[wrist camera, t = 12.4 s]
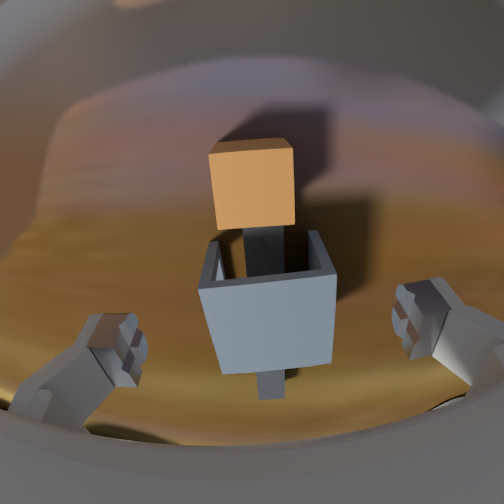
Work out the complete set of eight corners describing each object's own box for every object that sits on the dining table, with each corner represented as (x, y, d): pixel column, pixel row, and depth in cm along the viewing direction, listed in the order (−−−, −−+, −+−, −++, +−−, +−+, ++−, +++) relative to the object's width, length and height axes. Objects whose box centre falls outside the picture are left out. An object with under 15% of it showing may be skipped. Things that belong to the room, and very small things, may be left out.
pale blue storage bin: (317, 311, 29) (331, 362, 23) (226, 321, 30) (222, 374, 24) (316, 229, 25) (337, 274, 19) (209, 241, 26) (197, 289, 20)
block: (286, 199, 24) (294, 224, 20) (223, 203, 24) (217, 229, 20) (283, 137, 21) (292, 148, 17) (217, 142, 22) (208, 154, 17)
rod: (282, 378, 35) (284, 398, 33) (258, 380, 35) (259, 399, 33) (279, 198, 24) (283, 212, 22) (241, 201, 24) (241, 215, 22)
